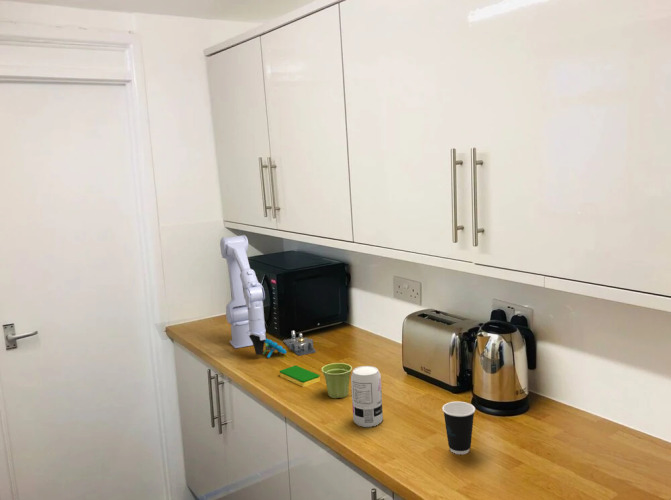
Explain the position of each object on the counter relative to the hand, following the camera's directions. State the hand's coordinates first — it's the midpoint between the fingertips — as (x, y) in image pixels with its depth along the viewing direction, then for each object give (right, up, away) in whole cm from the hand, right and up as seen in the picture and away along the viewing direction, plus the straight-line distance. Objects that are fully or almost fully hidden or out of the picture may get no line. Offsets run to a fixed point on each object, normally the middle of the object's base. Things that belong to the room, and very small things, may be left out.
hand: (259, 353), depth 220 cm
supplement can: (+38, -9, -55) cm, 67 cm away
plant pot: (+29, -7, -36) cm, 47 cm away
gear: (+6, -1, +3) cm, 6 cm away
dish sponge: (+16, -5, -21) cm, 27 cm away
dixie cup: (+59, -11, -73) cm, 94 cm away
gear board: (+14, +1, +10) cm, 18 cm away
